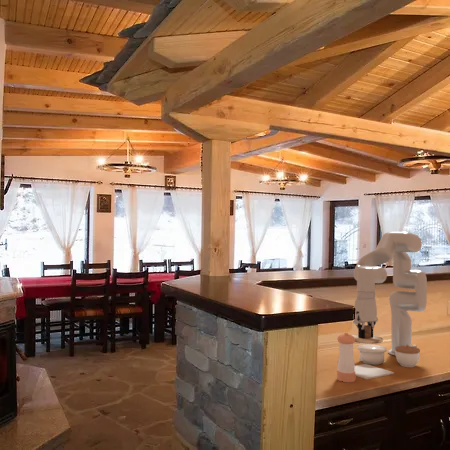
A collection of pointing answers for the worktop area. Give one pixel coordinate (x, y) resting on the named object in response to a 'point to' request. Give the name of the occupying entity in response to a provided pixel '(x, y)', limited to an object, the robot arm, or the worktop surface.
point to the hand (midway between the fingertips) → (365, 337)
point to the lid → (368, 337)
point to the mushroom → (372, 353)
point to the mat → (370, 371)
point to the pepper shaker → (346, 358)
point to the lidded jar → (407, 355)
